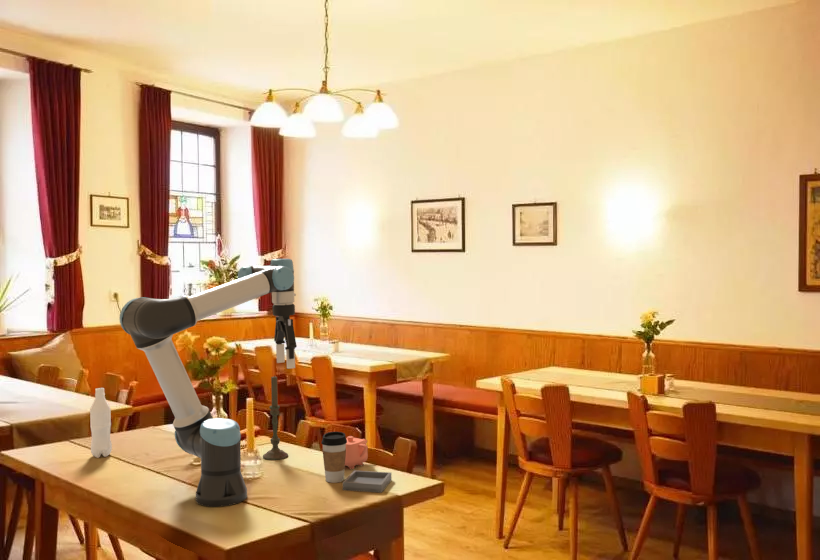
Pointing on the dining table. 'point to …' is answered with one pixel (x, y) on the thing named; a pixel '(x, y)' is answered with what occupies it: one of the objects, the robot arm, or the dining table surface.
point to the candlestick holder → (274, 426)
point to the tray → (367, 481)
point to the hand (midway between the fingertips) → (285, 365)
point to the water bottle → (100, 425)
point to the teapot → (355, 452)
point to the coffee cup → (334, 456)
